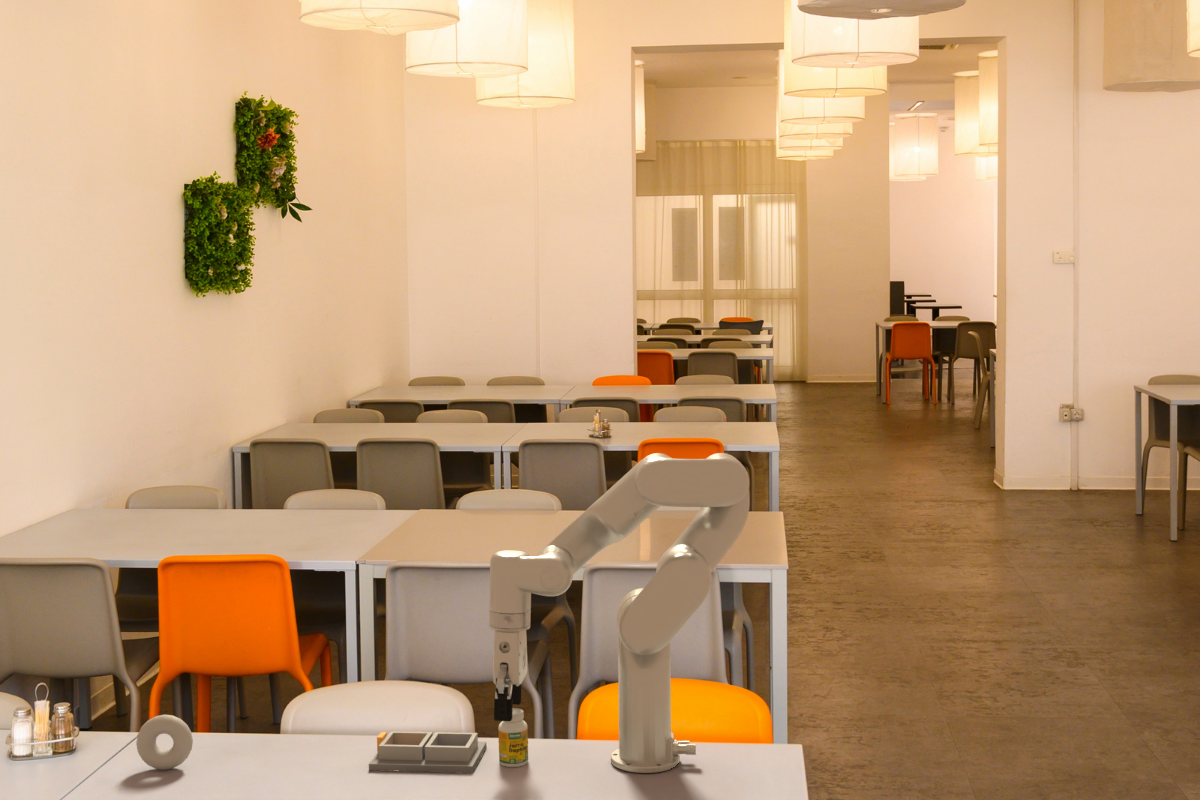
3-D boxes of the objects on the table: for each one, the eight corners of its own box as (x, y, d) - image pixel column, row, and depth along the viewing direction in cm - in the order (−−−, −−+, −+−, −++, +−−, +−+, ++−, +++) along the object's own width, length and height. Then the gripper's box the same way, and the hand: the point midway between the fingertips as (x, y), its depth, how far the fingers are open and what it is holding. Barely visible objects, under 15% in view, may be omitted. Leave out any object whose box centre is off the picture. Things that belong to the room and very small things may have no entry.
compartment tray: (486, 747, 224) (486, 725, 223) (472, 772, 211) (472, 748, 210) (388, 745, 225) (388, 723, 225) (368, 770, 212) (368, 746, 212)
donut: (196, 765, 216) (194, 711, 216) (190, 771, 213) (188, 717, 213) (141, 766, 216) (139, 712, 216) (134, 773, 213) (132, 718, 212)
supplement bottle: (519, 755, 219) (518, 704, 219) (533, 764, 215) (532, 712, 214) (493, 761, 216) (492, 710, 216) (507, 770, 212) (507, 717, 211)
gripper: (522, 631, 205) (520, 728, 206) (537, 609, 222) (535, 698, 223) (480, 629, 206) (478, 726, 207) (498, 607, 223) (496, 696, 224)
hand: (507, 711), depth 215 cm, fingers open, 9 cm apart
